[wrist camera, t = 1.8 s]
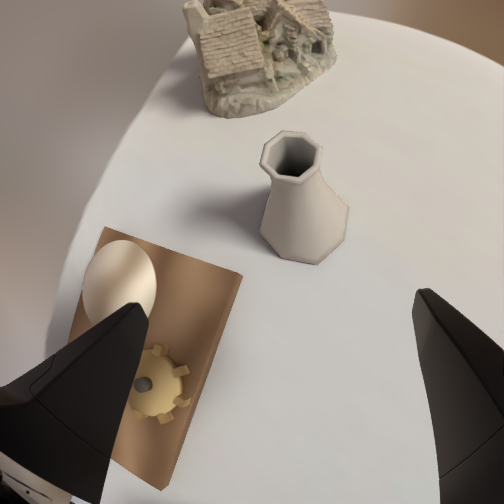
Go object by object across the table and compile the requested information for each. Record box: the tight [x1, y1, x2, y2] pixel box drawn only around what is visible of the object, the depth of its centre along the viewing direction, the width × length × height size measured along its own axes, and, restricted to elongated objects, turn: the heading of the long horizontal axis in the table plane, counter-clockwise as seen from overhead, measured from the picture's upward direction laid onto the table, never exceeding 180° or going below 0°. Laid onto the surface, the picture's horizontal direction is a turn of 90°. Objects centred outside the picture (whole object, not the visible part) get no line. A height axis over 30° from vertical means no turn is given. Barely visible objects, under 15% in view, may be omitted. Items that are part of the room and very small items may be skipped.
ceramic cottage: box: [182, 0, 337, 119], centre depth 22 cm, size 16×16×15 cm
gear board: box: [68, 227, 243, 491], centre depth 22 cm, size 15×22×4 cm
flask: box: [259, 131, 349, 265], centre depth 19 cm, size 7×7×10 cm
